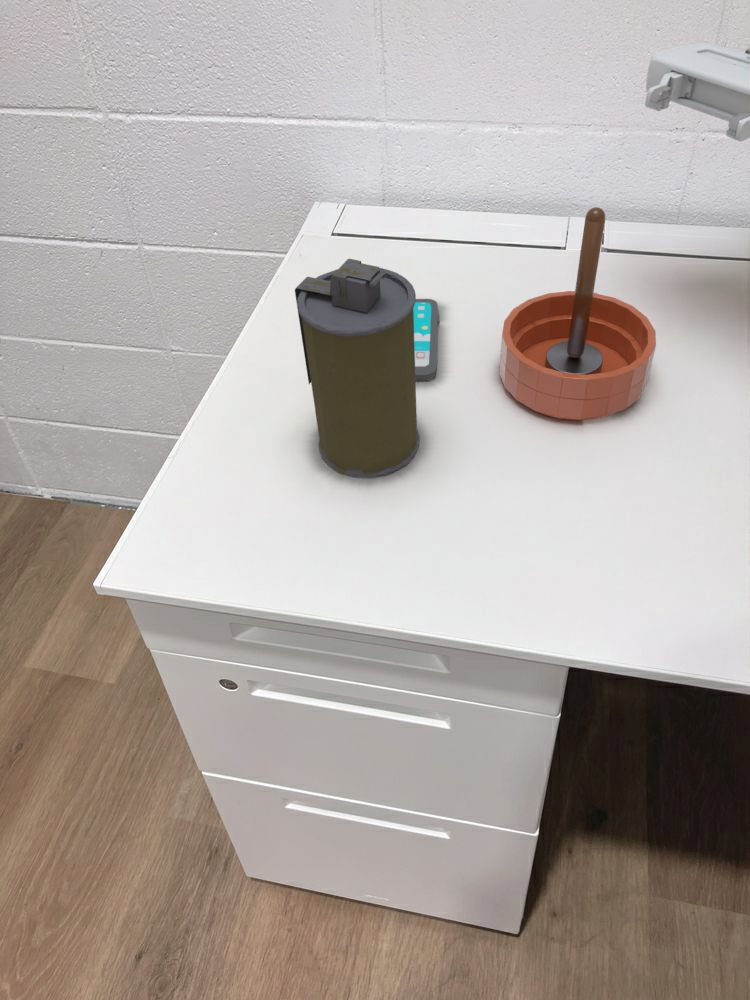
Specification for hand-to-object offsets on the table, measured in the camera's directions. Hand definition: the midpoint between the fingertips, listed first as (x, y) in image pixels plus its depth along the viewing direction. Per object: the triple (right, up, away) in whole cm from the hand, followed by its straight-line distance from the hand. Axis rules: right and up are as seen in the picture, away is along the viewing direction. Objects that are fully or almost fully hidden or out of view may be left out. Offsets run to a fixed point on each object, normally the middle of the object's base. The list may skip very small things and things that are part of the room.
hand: (691, 115), depth 74 cm
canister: (-30, -30, +9) cm, 43 cm away
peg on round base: (-8, -21, +14) cm, 27 cm away
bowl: (-8, -22, +14) cm, 27 cm away
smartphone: (-26, -17, +21) cm, 37 cm away
